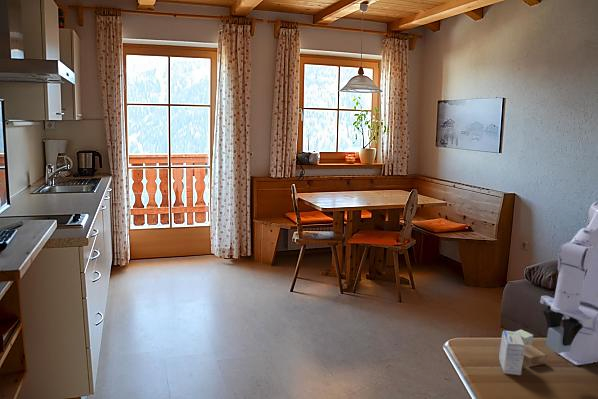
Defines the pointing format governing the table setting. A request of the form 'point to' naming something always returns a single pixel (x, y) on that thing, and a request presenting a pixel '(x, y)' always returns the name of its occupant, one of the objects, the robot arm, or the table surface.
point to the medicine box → (511, 352)
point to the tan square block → (533, 356)
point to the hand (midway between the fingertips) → (559, 340)
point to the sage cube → (526, 337)
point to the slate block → (556, 340)
